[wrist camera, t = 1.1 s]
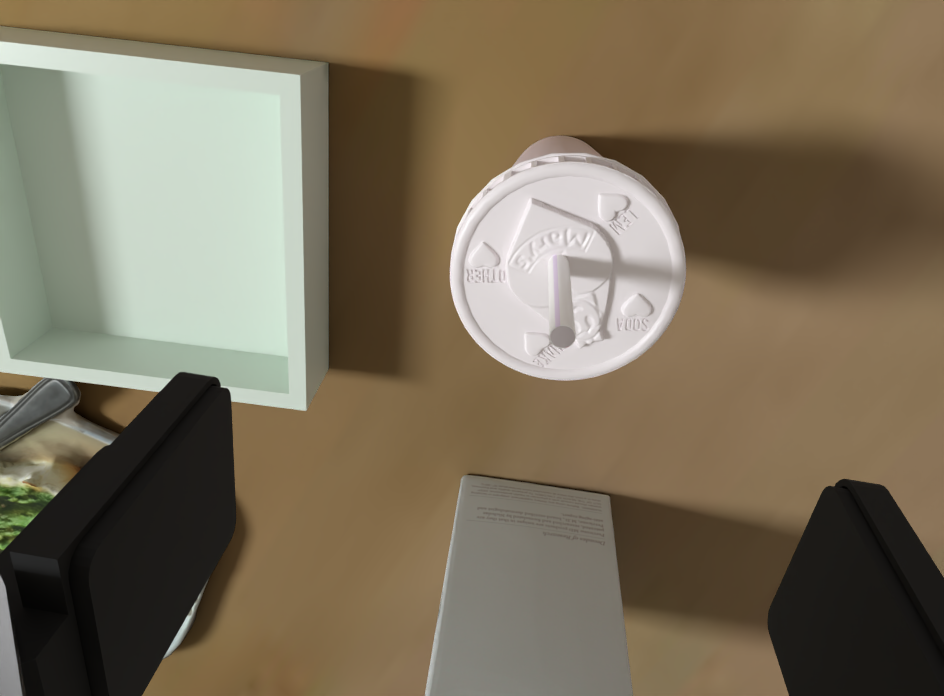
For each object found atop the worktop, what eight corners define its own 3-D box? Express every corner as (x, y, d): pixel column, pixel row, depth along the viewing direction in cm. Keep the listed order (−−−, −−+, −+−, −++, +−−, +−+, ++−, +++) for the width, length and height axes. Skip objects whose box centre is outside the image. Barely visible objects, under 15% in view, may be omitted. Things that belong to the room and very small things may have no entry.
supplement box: (460, 469, 35) (421, 707, 23) (613, 492, 34) (647, 743, 23) (444, 580, 38) (404, 833, 27) (583, 601, 38) (600, 865, 27)
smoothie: (609, 67, 26) (673, 160, 13) (665, 227, 28) (762, 429, 16) (448, 141, 27) (371, 283, 15) (514, 285, 30) (495, 509, 18)
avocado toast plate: (-86, 280, 33) (-175, 325, 29) (278, 445, 35) (243, 507, 31) (-121, 552, 41) (-193, 616, 37) (172, 669, 44) (134, 740, 40)
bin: (328, 62, 26) (300, 75, 23) (328, 368, 32) (306, 410, 29) (-16, 24, 27) (-89, 31, 24) (48, 333, 33) (-3, 371, 30)
